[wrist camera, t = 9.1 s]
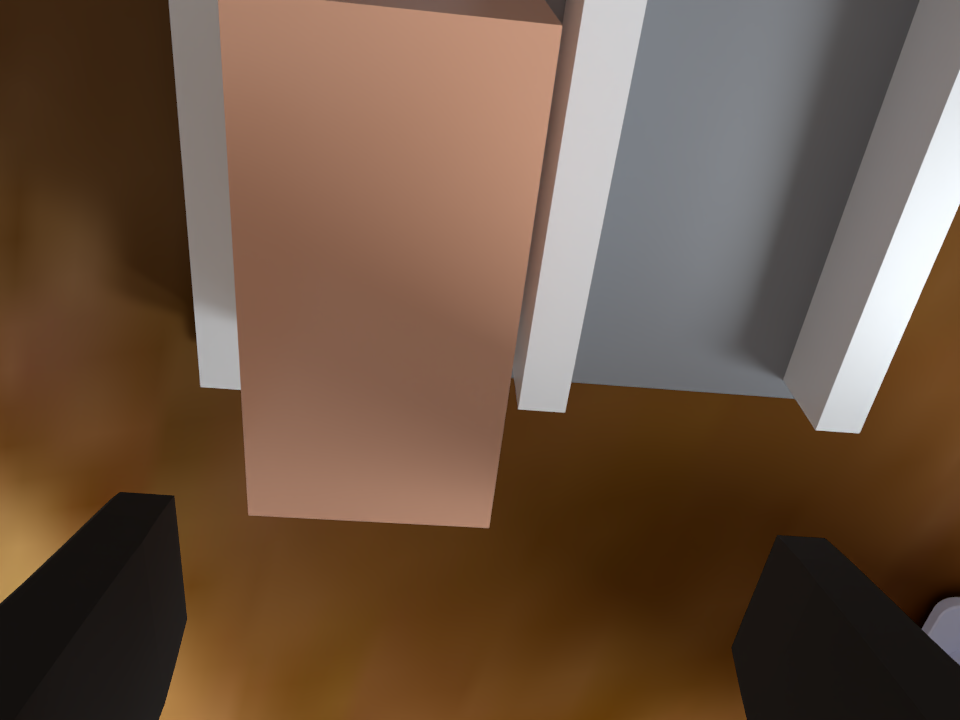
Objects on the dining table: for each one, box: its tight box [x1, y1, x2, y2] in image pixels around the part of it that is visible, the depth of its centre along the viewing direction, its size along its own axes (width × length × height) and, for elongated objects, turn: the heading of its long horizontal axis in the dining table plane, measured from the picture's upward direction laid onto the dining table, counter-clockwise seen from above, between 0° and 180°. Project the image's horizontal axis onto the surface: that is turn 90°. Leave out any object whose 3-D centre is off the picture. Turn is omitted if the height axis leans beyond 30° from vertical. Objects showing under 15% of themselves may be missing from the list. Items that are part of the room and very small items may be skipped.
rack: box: [169, 0, 960, 433], centre depth 16 cm, size 15×11×2 cm
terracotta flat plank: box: [218, 0, 563, 528], centre depth 13 cm, size 4×7×7 cm, turn 174°
